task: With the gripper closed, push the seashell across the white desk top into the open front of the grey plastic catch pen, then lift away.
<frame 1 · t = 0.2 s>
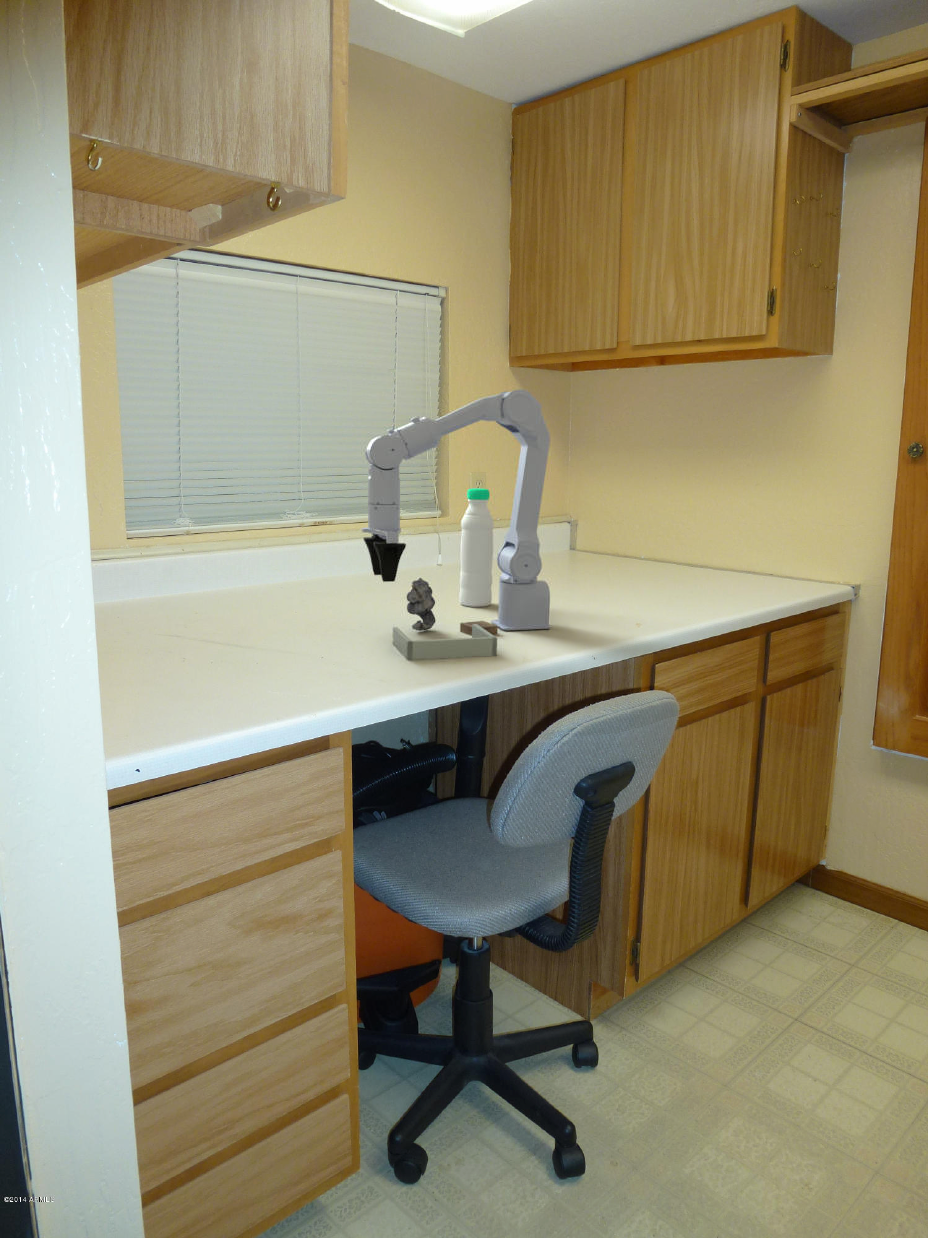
hand: (384, 578, 159), 10 cm above the worktop, fingers open, 7 cm apart
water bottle: (475, 605, 188), on the worktop
catch pen: (443, 649, 147), on the worktop
seashell: (421, 631, 162), on the worktop
walnut tile: (478, 634, 161), on the worktop
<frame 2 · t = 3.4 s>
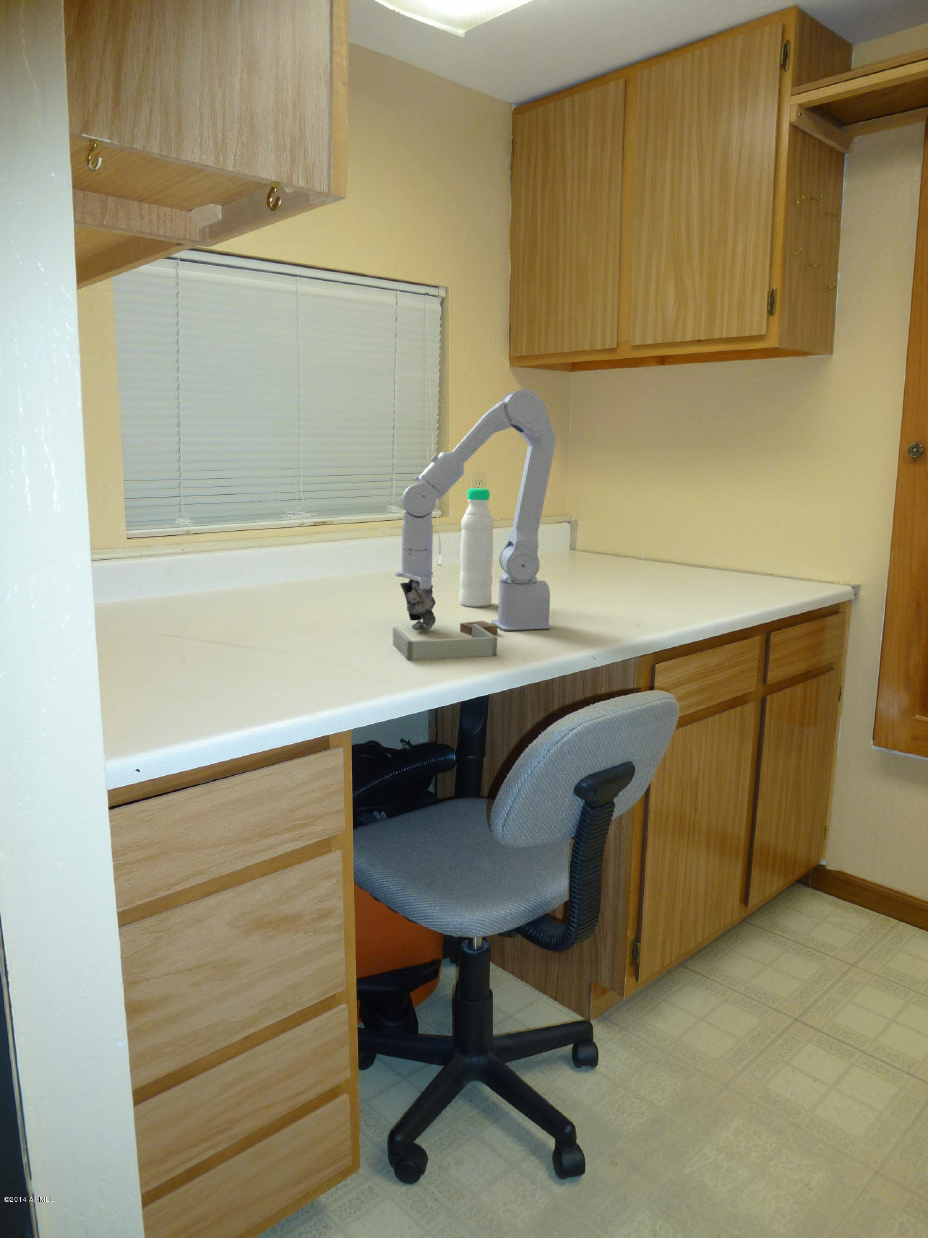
hand: (415, 620, 165), 1 cm above the worktop, fingers closed
seashell: (421, 630, 162), on the worktop, touching gripper
everything else where it was.
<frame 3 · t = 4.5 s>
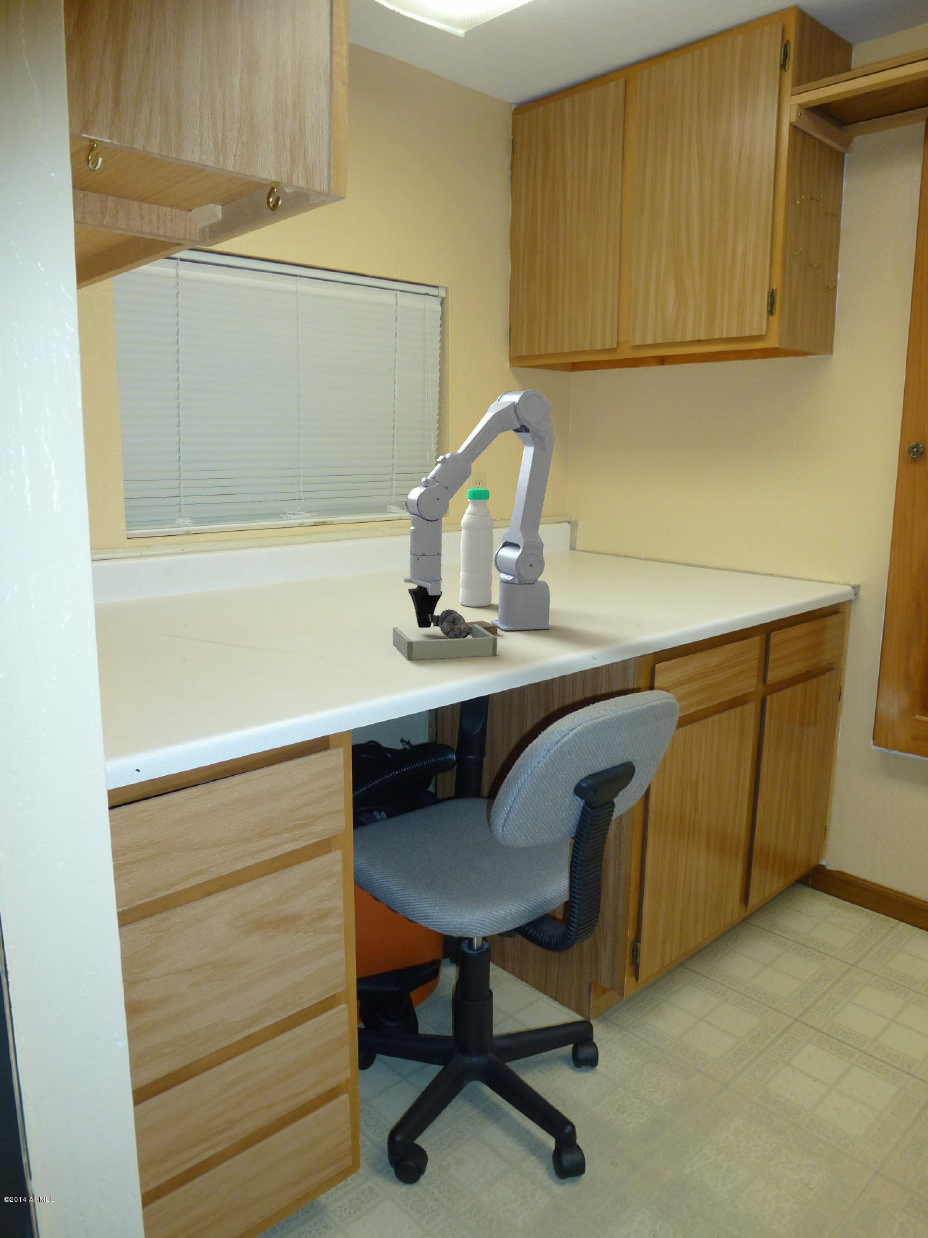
hand: (424, 627, 159), 1 cm above the worktop, fingers closed
seashell: (438, 612, 158), point 4 cm above the worktop, touching gripper
everything else where it was.
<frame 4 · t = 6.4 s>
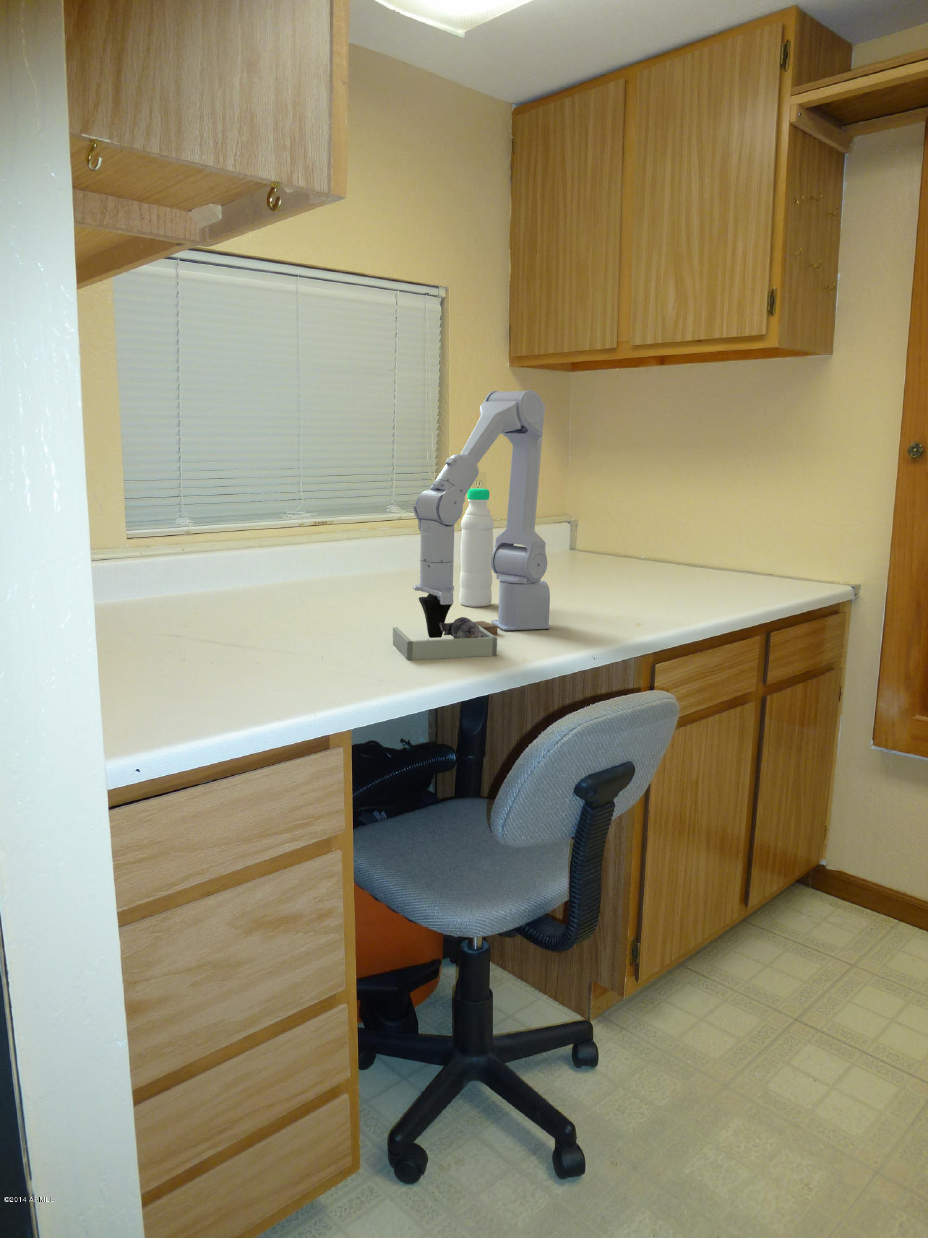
hand: (435, 637, 151), 1 cm above the worktop, fingers closed, pressing on seashell
seashell: (447, 620, 151), point 4 cm above the worktop, touching catch pen, gripper
everything else where it was.
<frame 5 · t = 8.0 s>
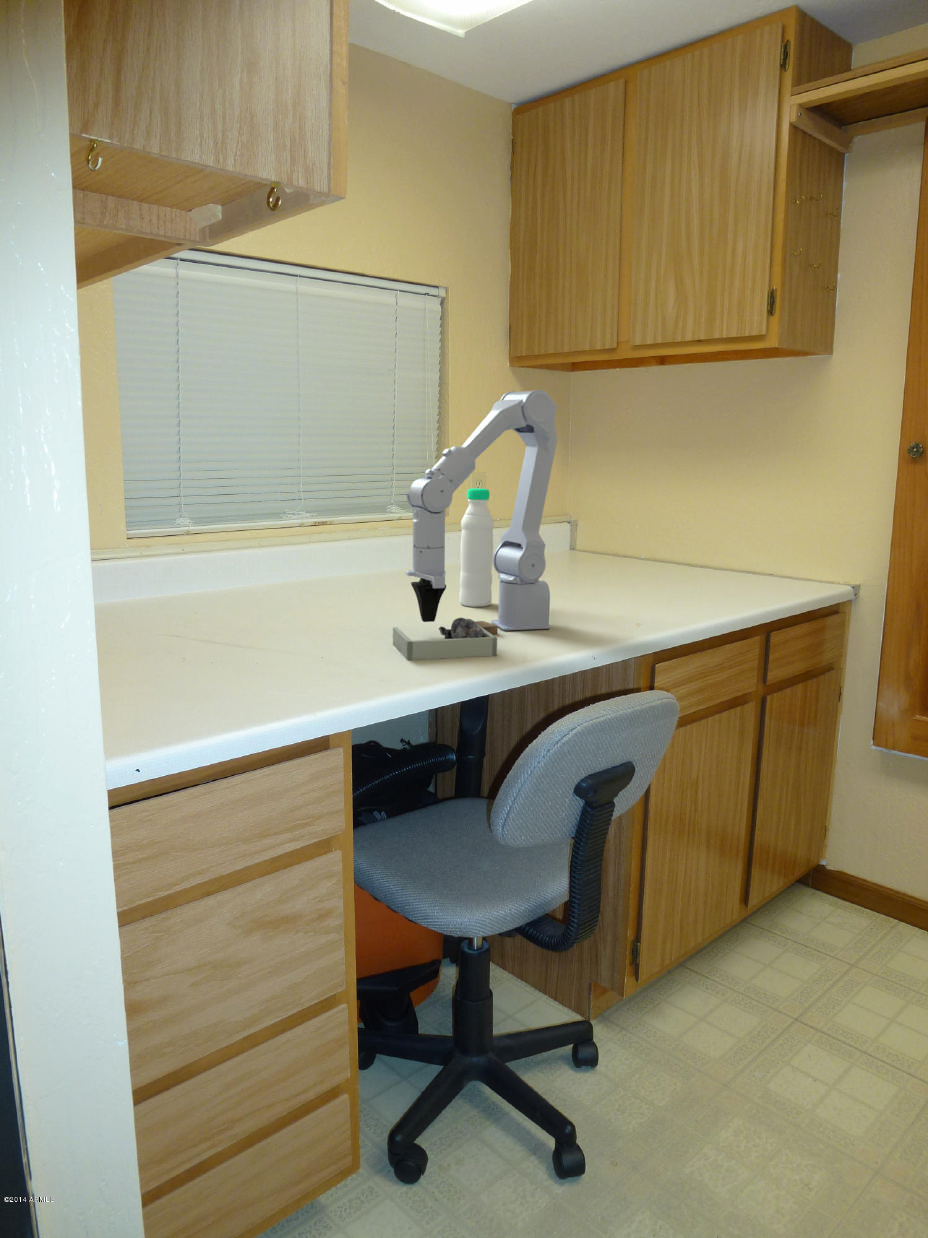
hand: (428, 621, 157), 3 cm above the worktop, fingers closed
seashell: (447, 627, 153), point 2 cm above the worktop, touching catch pen
everything else where it was.
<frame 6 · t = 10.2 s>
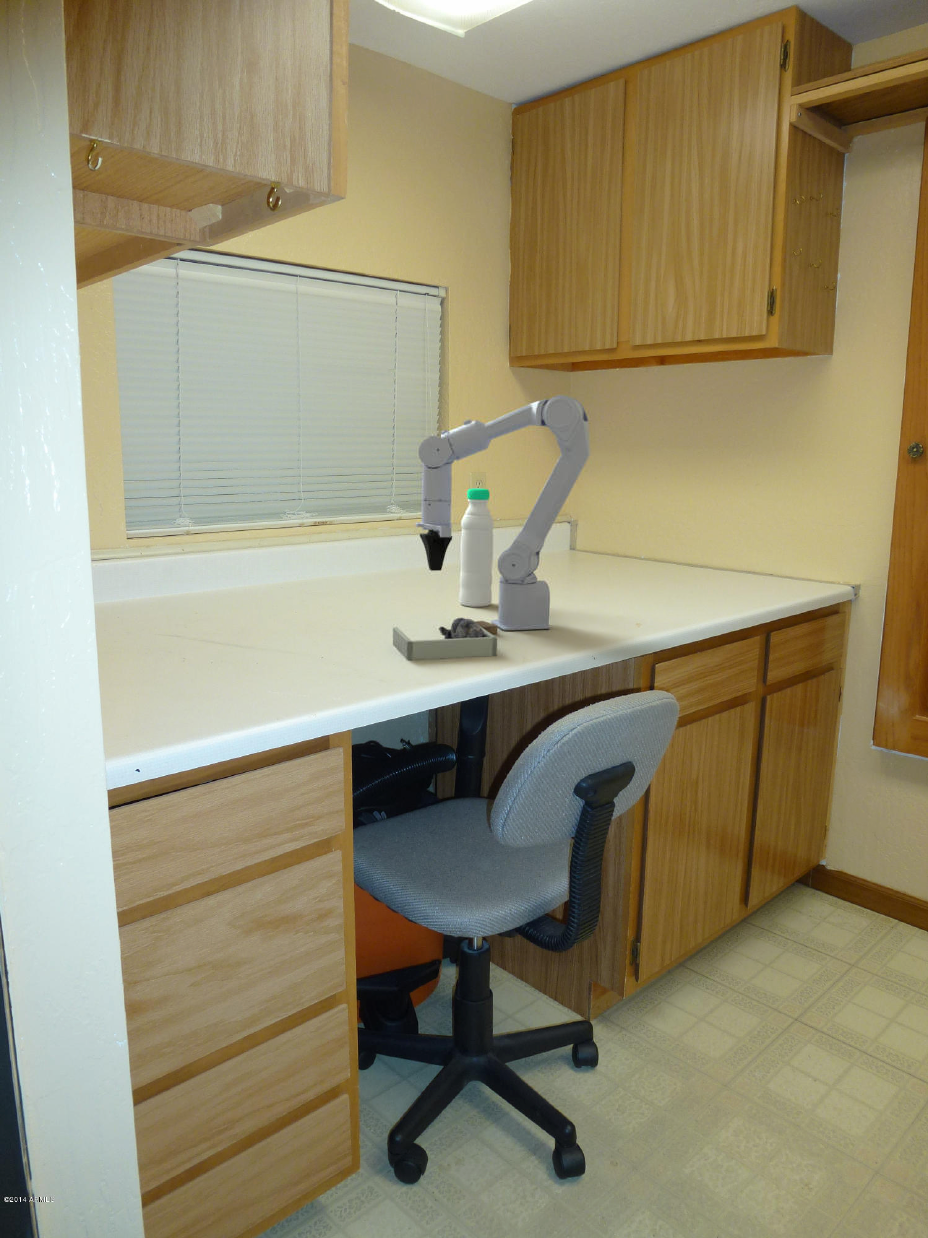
hand: (435, 570, 169), 10 cm above the worktop, fingers closed
nothing on the worktop moved.
at the end: seashell inside the target area on the catch pen (6.0 cm from its centre), point 2.4 cm above the catch pen's base; seashell moved 10.3 cm from its start; the gripper is holding nothing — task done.
